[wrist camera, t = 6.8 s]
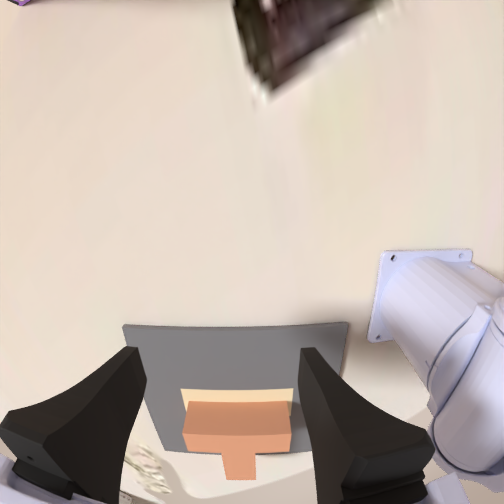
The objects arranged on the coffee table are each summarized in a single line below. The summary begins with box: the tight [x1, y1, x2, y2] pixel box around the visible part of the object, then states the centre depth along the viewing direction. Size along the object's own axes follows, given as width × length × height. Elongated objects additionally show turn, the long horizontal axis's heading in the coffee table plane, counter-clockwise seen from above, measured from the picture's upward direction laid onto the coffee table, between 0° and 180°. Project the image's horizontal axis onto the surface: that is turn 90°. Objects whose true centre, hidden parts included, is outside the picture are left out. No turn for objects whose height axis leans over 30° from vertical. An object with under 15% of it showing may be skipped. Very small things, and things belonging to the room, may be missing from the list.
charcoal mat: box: [122, 322, 348, 455], centre depth 25 cm, size 18×18×1 cm
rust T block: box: [182, 401, 292, 480], centre depth 24 cm, size 9×9×4 cm
